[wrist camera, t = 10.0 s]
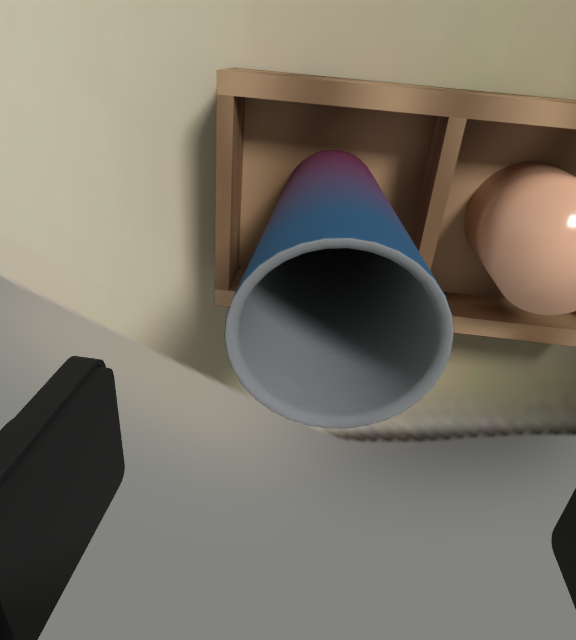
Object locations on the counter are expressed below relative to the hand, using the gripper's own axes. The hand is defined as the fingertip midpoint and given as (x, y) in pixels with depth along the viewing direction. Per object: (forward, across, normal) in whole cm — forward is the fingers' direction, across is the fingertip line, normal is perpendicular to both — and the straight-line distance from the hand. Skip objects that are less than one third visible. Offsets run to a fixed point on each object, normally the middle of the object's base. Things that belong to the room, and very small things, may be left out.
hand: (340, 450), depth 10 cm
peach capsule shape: (+21, -10, +1) cm, 23 cm away
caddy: (+21, -4, +1) cm, 22 cm away
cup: (+20, +1, +1) cm, 21 cm away
